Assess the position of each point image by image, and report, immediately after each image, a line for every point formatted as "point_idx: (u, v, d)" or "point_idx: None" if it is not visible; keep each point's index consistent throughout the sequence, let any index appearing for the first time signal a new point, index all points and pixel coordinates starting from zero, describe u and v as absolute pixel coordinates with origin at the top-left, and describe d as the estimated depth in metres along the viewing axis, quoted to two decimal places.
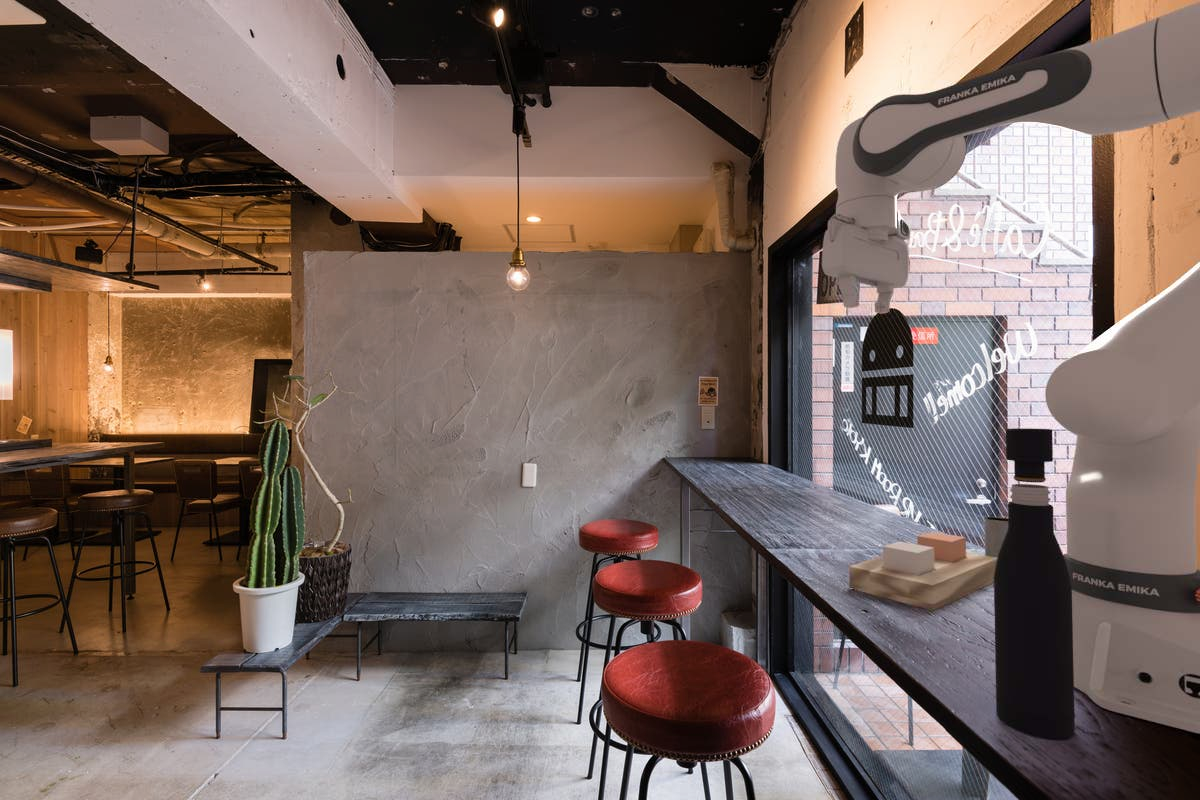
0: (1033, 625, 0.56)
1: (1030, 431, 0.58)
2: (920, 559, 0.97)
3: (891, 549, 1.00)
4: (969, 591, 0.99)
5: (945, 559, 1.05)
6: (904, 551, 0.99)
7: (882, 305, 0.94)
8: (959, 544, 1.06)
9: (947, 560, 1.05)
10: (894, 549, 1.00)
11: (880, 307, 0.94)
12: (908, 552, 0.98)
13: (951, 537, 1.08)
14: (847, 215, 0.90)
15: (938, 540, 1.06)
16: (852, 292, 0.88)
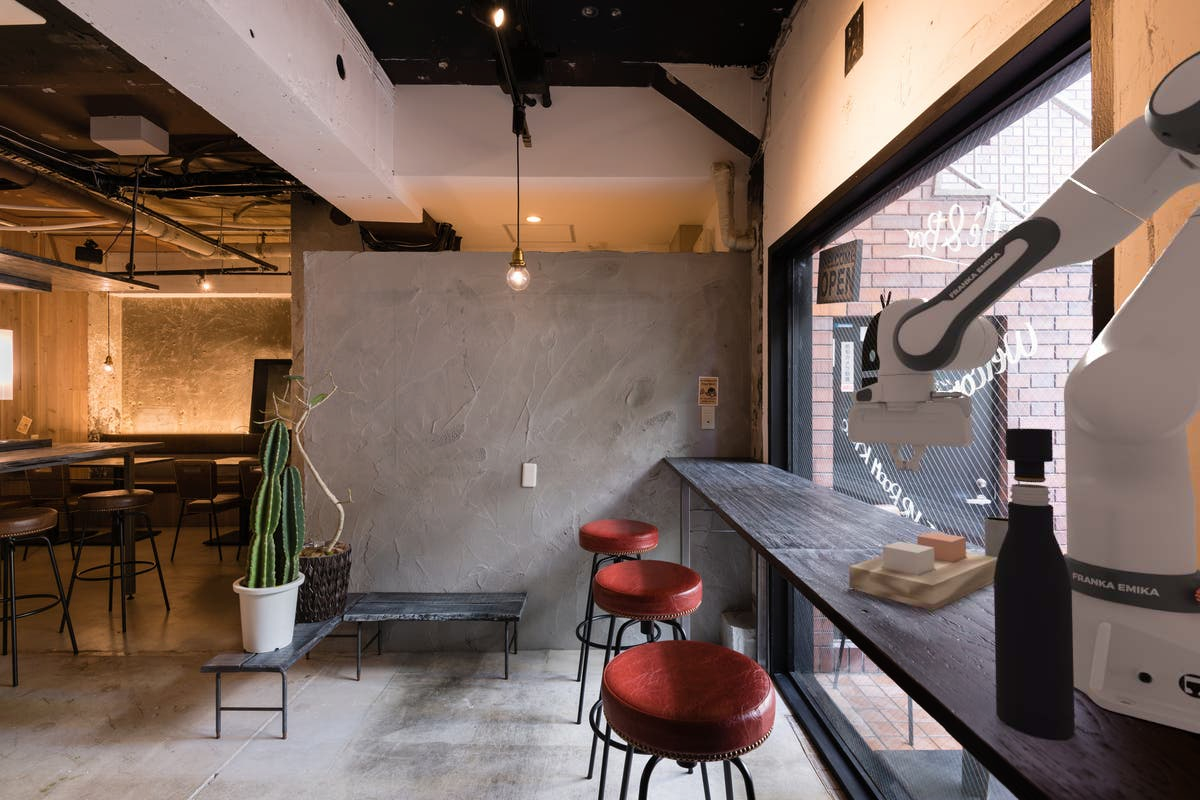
0: (1033, 625, 0.56)
1: (1030, 431, 0.58)
2: (920, 559, 0.97)
3: (891, 549, 1.00)
4: (969, 591, 0.99)
5: (945, 559, 1.05)
6: (904, 551, 0.99)
7: (906, 464, 1.02)
8: (959, 544, 1.06)
9: (947, 560, 1.05)
10: (894, 549, 1.00)
11: (905, 465, 1.02)
12: (908, 552, 0.98)
13: (951, 537, 1.08)
14: (930, 387, 0.98)
15: (938, 540, 1.06)
16: (920, 459, 1.00)
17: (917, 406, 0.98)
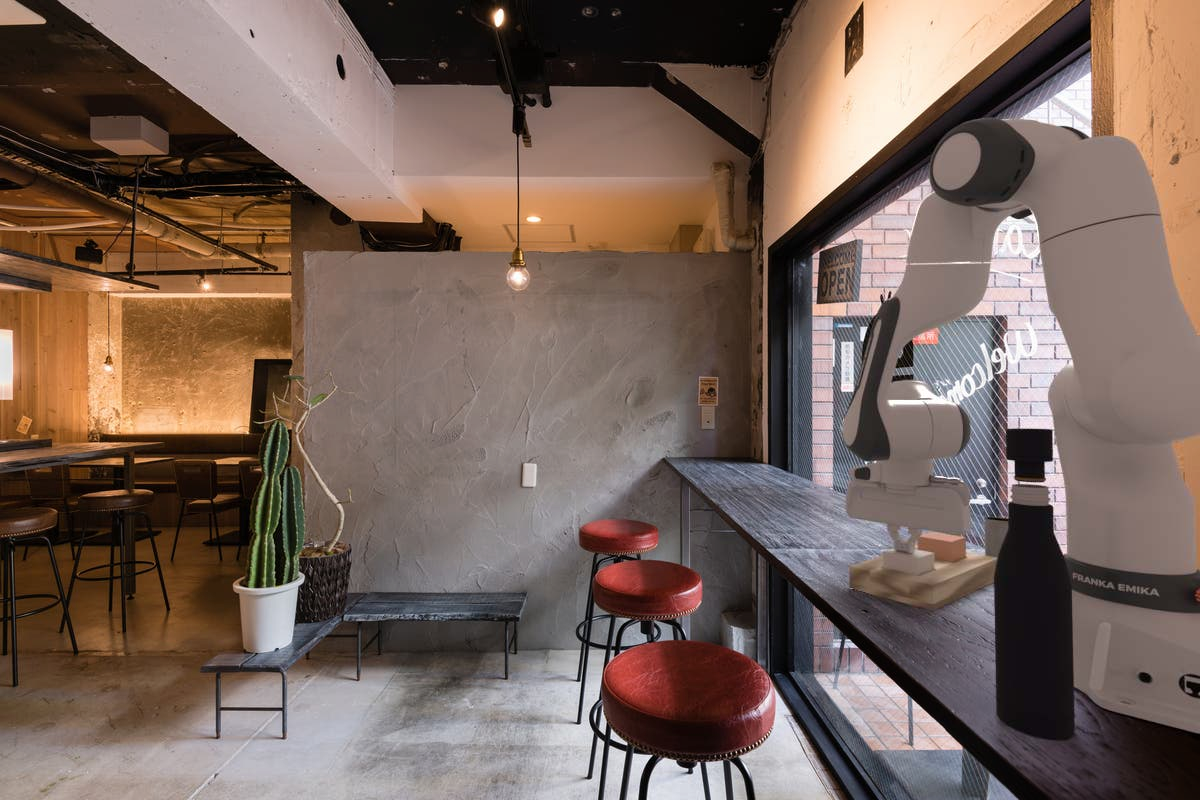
0: (1033, 625, 0.56)
1: (1030, 431, 0.58)
2: (920, 564, 0.97)
3: (891, 554, 1.00)
4: (969, 591, 0.99)
5: (945, 559, 1.05)
6: (904, 556, 0.99)
7: None
8: (959, 544, 1.06)
9: (947, 560, 1.05)
10: (894, 554, 1.00)
11: None
12: (908, 557, 0.98)
13: (951, 537, 1.08)
14: (928, 471, 0.97)
15: (938, 540, 1.06)
16: None
17: (916, 490, 0.98)
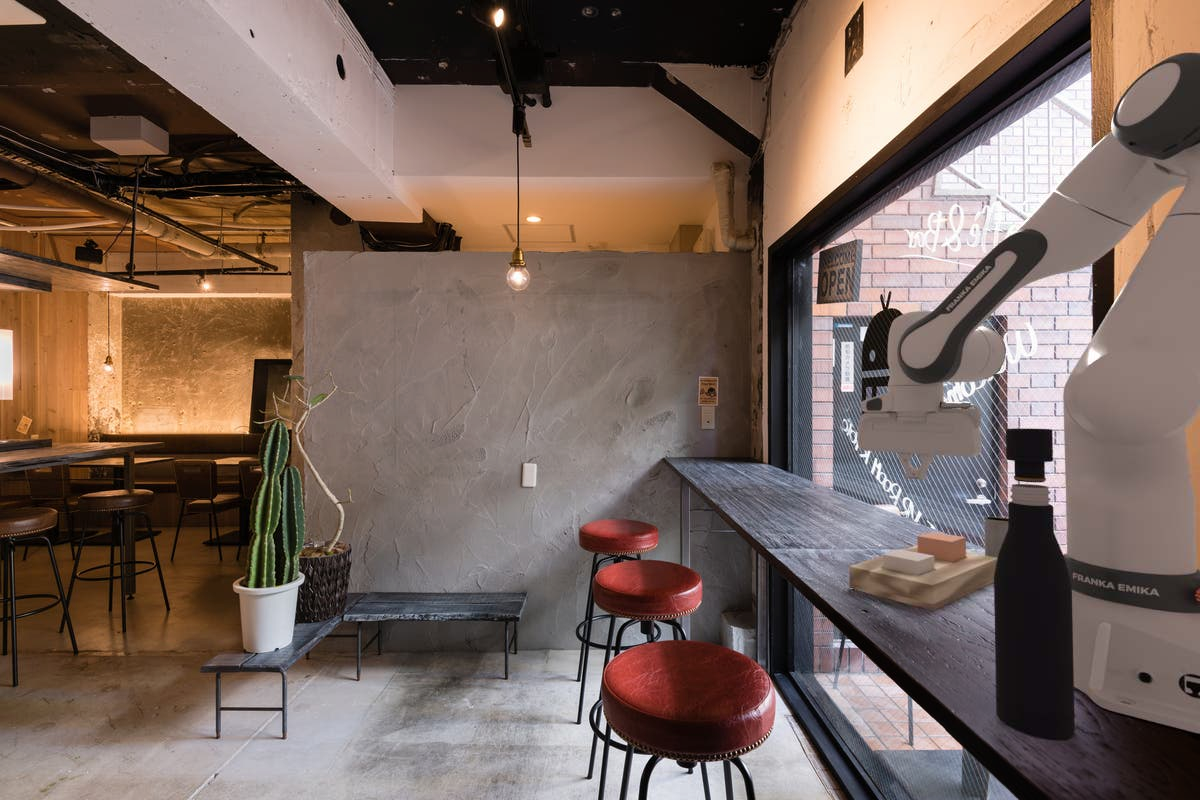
0: (1033, 625, 0.56)
1: (1030, 431, 0.58)
2: (920, 567, 0.97)
3: (891, 557, 1.00)
4: (969, 591, 0.99)
5: (945, 559, 1.05)
6: (904, 559, 0.99)
7: None
8: (959, 544, 1.06)
9: (947, 560, 1.05)
10: (894, 557, 1.00)
11: None
12: (908, 560, 0.98)
13: (951, 537, 1.08)
14: (939, 398, 1.00)
15: (938, 540, 1.06)
16: (927, 467, 1.03)
17: (927, 416, 1.00)
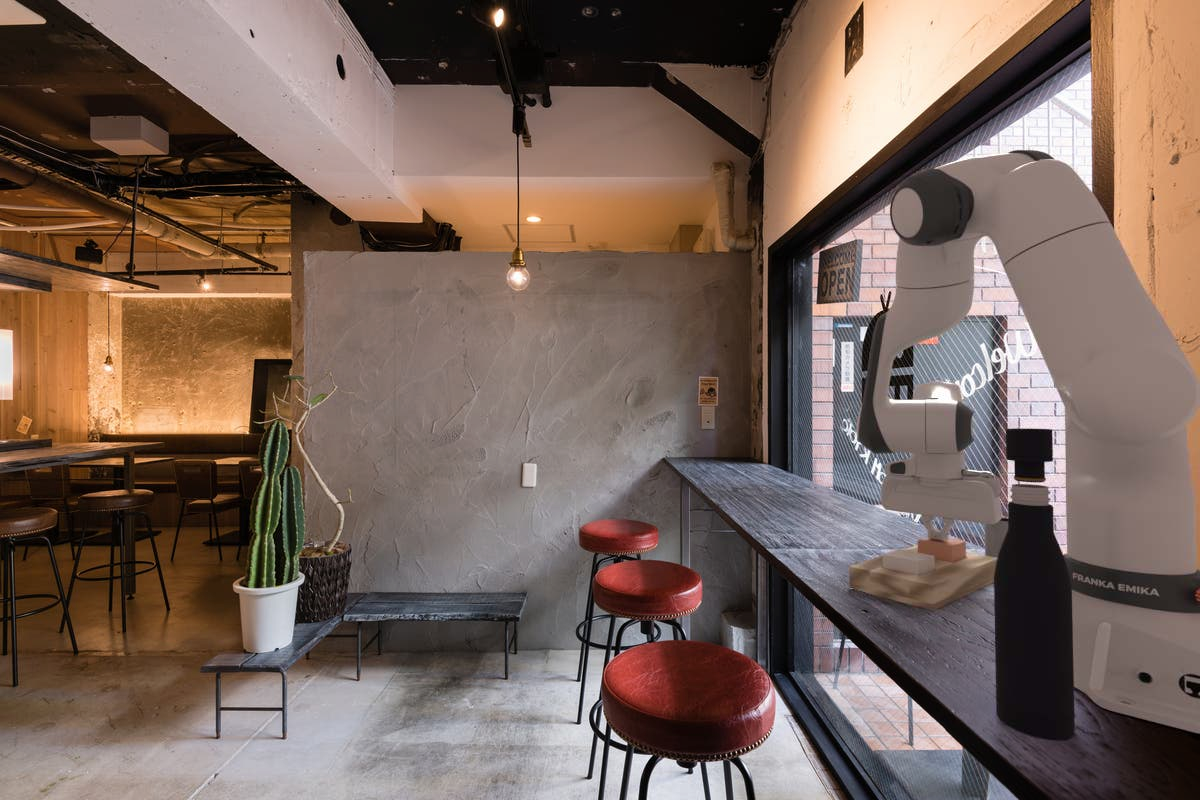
0: (1033, 625, 0.56)
1: (1030, 431, 0.58)
2: (920, 567, 0.97)
3: (891, 557, 1.00)
4: (969, 591, 0.99)
5: None
6: (904, 559, 0.99)
7: None
8: (959, 549, 1.06)
9: None
10: (894, 557, 1.00)
11: None
12: (908, 560, 0.98)
13: (951, 541, 1.08)
14: (961, 465, 1.05)
15: (938, 544, 1.06)
16: (949, 530, 1.08)
17: (949, 483, 1.06)
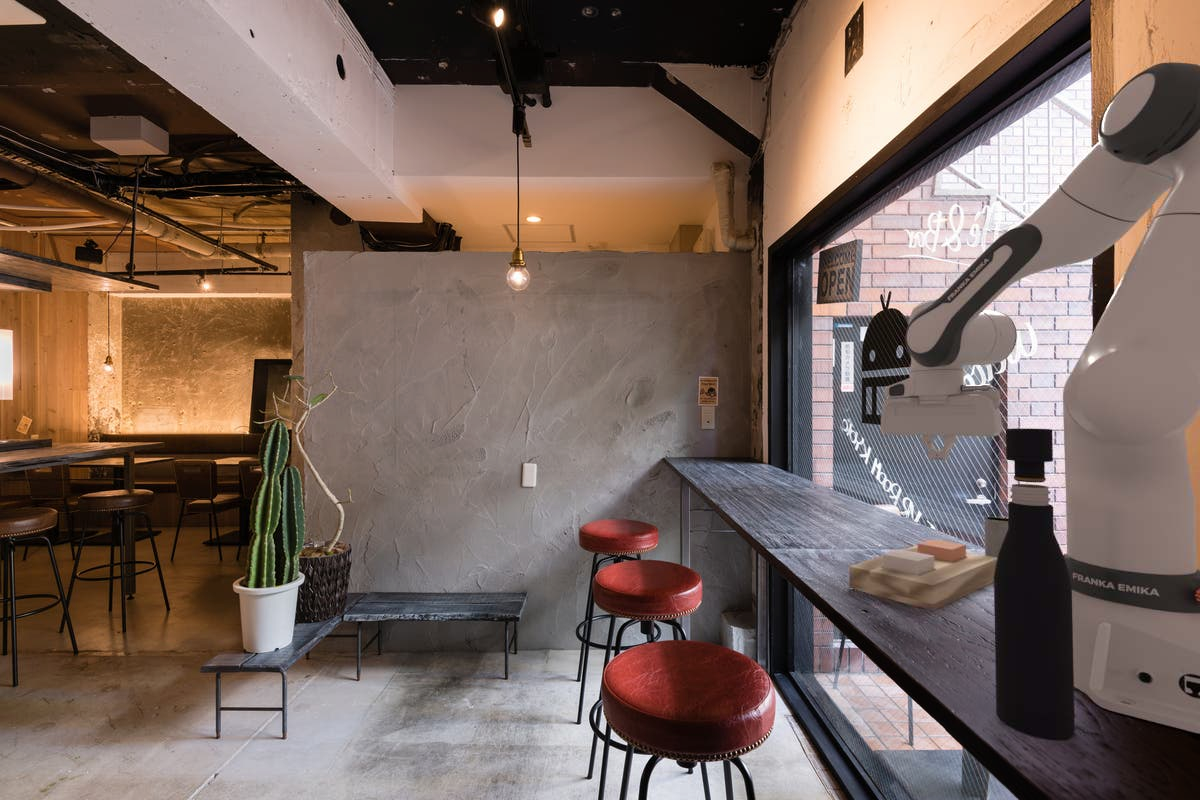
0: (1033, 625, 0.56)
1: (1030, 431, 0.58)
2: (920, 567, 0.97)
3: (891, 557, 1.00)
4: (969, 591, 0.99)
5: None
6: (904, 559, 0.99)
7: None
8: (959, 552, 1.06)
9: None
10: (894, 557, 1.00)
11: None
12: (908, 560, 0.98)
13: (951, 544, 1.08)
14: (960, 381, 1.05)
15: (938, 548, 1.06)
16: (950, 448, 1.07)
17: (948, 399, 1.05)
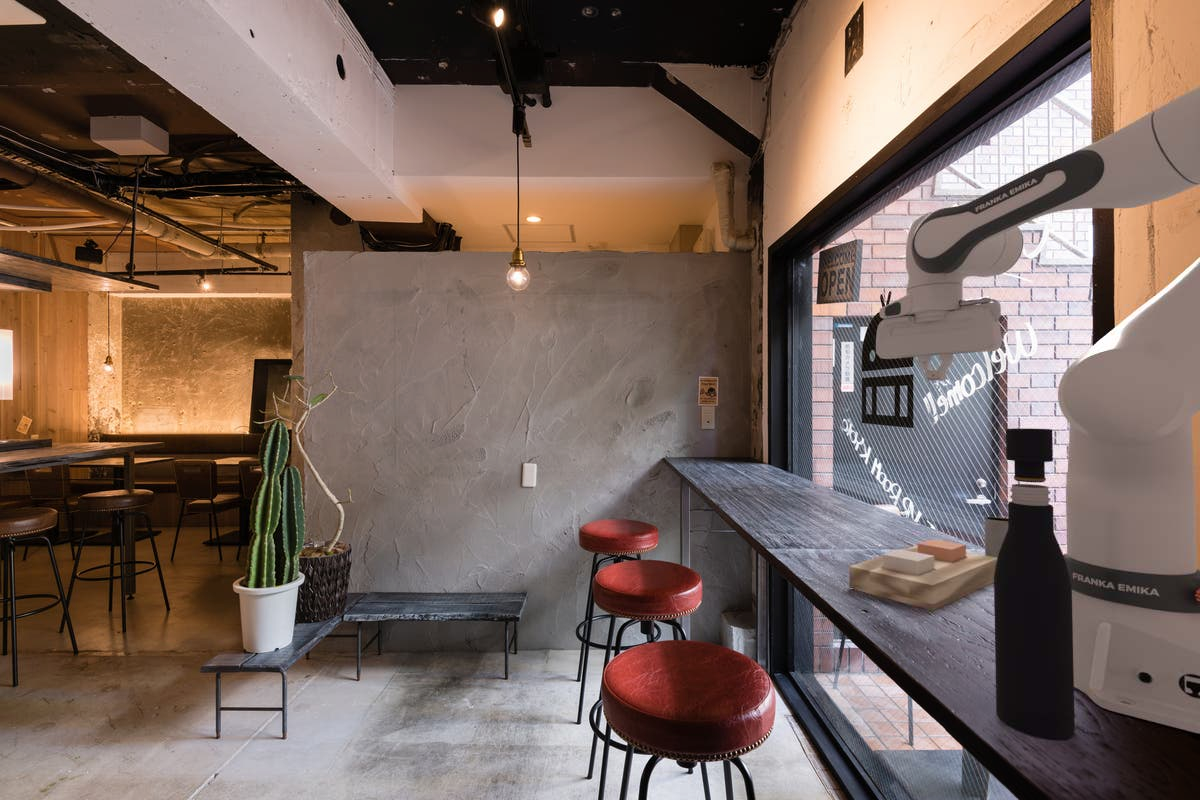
0: (1033, 625, 0.56)
1: (1030, 431, 0.58)
2: (920, 567, 0.97)
3: (891, 557, 1.00)
4: (969, 591, 0.99)
5: None
6: (904, 559, 0.99)
7: None
8: (959, 552, 1.06)
9: None
10: (894, 557, 1.00)
11: None
12: (908, 560, 0.98)
13: (951, 544, 1.08)
14: (958, 296, 1.00)
15: (938, 548, 1.06)
16: (947, 368, 1.03)
17: (946, 315, 1.01)
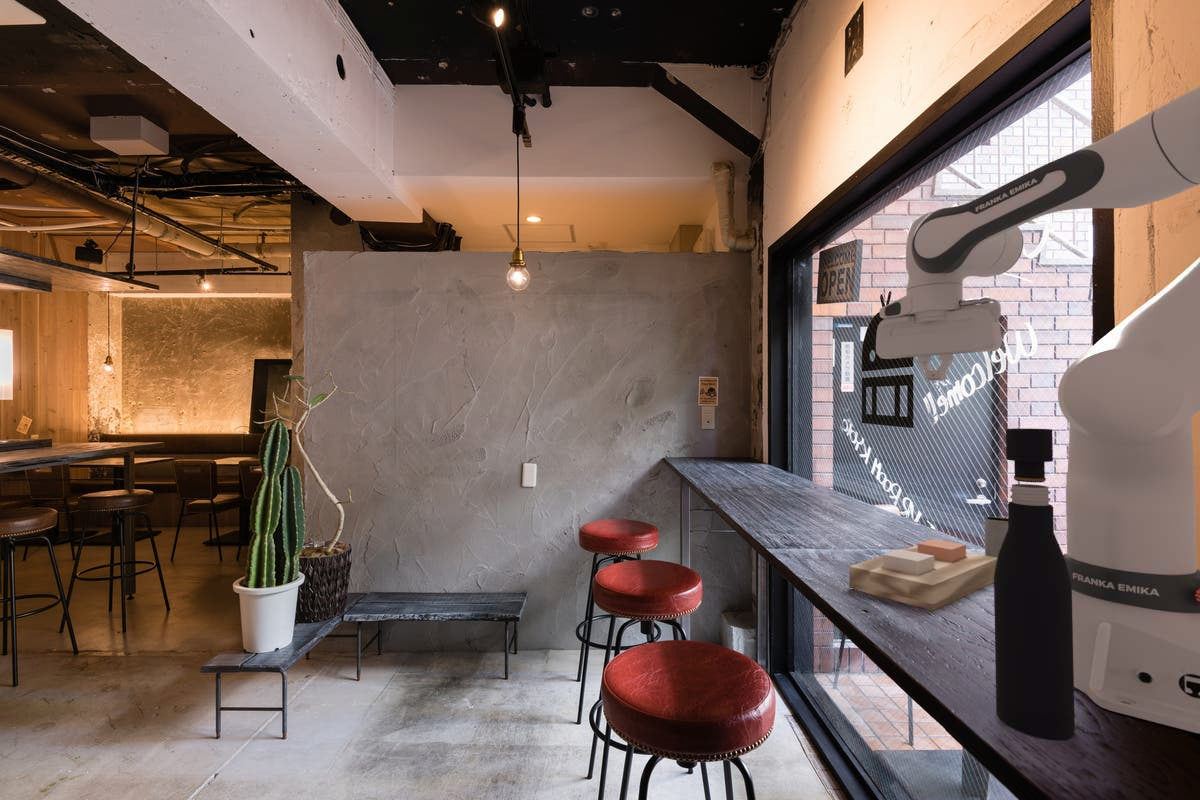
0: (1033, 625, 0.56)
1: (1030, 431, 0.58)
2: (920, 567, 0.97)
3: (891, 557, 1.00)
4: (969, 591, 0.99)
5: None
6: (904, 559, 0.99)
7: None
8: (959, 552, 1.06)
9: None
10: (894, 557, 1.00)
11: None
12: (908, 560, 0.98)
13: (951, 544, 1.08)
14: (958, 296, 1.00)
15: (938, 548, 1.06)
16: (947, 368, 1.03)
17: (946, 315, 1.01)
